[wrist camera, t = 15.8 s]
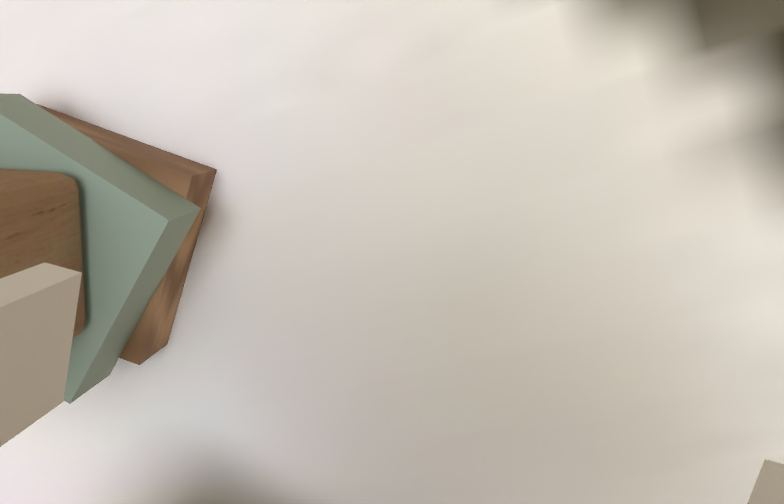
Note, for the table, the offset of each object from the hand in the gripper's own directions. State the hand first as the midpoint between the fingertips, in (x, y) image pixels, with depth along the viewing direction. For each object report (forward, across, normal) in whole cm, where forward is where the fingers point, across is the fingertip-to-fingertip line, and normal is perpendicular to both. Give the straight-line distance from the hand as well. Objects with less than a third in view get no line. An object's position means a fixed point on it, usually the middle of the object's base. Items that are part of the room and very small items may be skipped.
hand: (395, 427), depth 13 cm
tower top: (+32, +25, +9) cm, 42 cm away
